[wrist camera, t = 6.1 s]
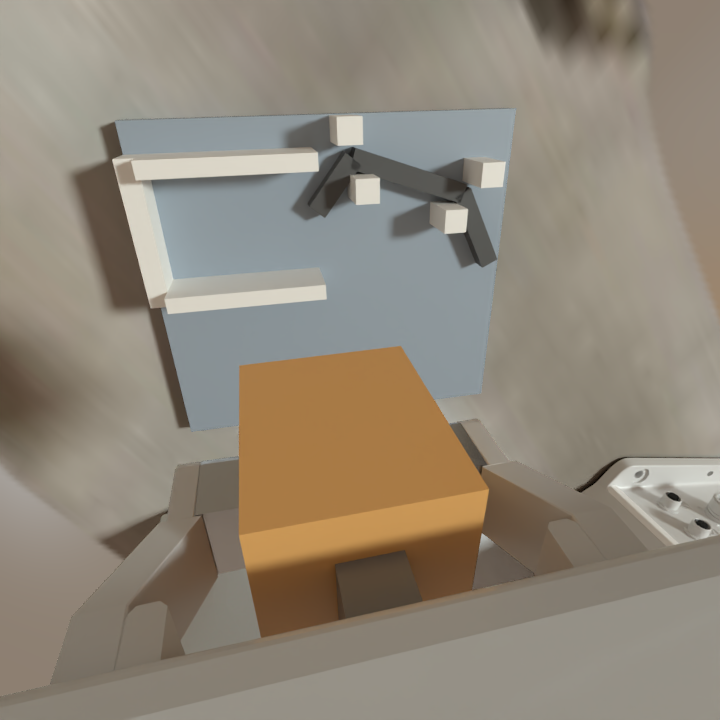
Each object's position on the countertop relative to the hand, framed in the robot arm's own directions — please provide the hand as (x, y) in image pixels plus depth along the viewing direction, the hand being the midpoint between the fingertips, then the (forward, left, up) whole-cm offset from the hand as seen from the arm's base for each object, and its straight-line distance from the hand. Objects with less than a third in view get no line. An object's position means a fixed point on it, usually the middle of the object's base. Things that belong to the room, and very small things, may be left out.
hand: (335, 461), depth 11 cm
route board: (-3, +2, -19) cm, 19 cm away
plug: (0, 0, -2) cm, 2 cm away
